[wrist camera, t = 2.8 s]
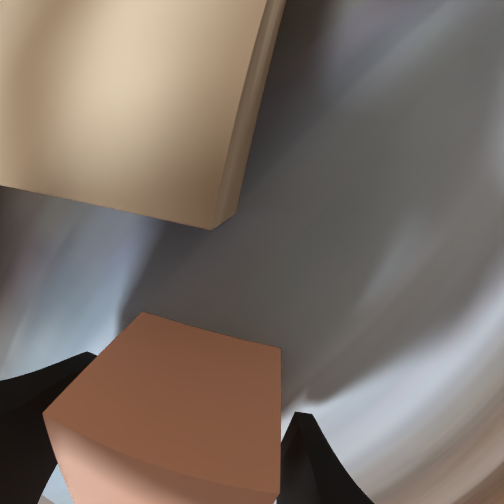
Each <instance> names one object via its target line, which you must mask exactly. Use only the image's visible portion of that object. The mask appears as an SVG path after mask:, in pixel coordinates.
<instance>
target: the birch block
mask: <svg viewBox="0 0 504 504" xmlns="http://www.w3.org/2000/svg"><path fill="white" fill-rule="evenodd" d="M285 3H286V0H0V185H2V186H7V187H12V188H17V189H22V190H27V191H32V192H36V193H41V194H46V195H51V196H56V197H61V198H65V199H70V200H75V201H80V202H84V203H89V204H94V205H98V206H103V207H108V208H112V209H117V210H121V211H126V212H131V213H135V214H140V215H144V216H149V217H154V218H158V219H163V220H167V221H172V222H176V223H181V224H185V225H190V226H194V227H198V228H203V229H207V230H212V229H214V228H215V227H217V226H218V225H220V224H221V223H223V222H224V221H226V220H227V219H229V218H230V217H232V216H233V215H235V214H236V210H237V206H238V201H239V197H240V192H241V187H242V183H243V178H244V174H245V169H246V165H247V160H248V156H249V151H250V147H251V143H252V138H253V134H254V130H255V125H256V121H257V117H258V112H259V108H260V104H261V100H262V95H263V91H264V87H265V83H266V79H267V75H268V71H269V66H270V62H271V58H272V54H273V50H274V46H275V42H276V38H277V34H278V31H279V27H280V23H281V19H282V15H283V11H284V7H285Z"/></svg>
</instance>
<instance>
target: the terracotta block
mask: <svg viewBox="0 0 504 504" xmlns="http://www.w3.org/2000/svg"><path fill="white" fill-rule="evenodd" d="M42 414H43V418H44V422H45V425H46V429H47V432H48V435H49V439H50V442H51V445H52V448H53V451H54V454H55V457H56V459H57V462H58V465H59V468H60V470H61V473H62V475H63V478H64V480H65V483H66V485H67V488H68V490H69V492H70V495H71V497H72V499H73V501H74V503H75V504H273V503H274V501H275V500H276V498H277V497H278V495H279V494H280V457H281V348H278V347H273V346H269V345H264V344H260V343H256V342H251V341H247V340H243V339H239V338H235V337H231V336H227V335H223V334H219V333H215V332H211V331H208V330H204V329H200V328H197V327H193V326H189V325H186V324H182V323H179V322H176V321H172V320H169V319H165V318H162V317H159V316H156V315H152V314H149V313H146V312H143V311H142V312H141V313H140V314H139V315H138V316H137V317H136V318H135V319H134V320H133V321H132V322H131V323H130V324H129V325H128V326H127V327H126V328H125V329H124V330H123V331H122V332H121V333H120V334H119V335H118V336H117V337H116V338H115V339H114V340H113V341H112V342H111V343H110V344H109V345H108V346H107V347H106V348H105V349H104V350H103V351H102V352H101V353H100V354H99V355H98V356H97V357H96V358H95V359H94V360H93V361H92V362H91V363H90V364H89V365H88V366H87V367H86V368H85V369H84V370H83V371H82V372H81V373H80V374H79V375H78V377H77V378H76V379H75V380H74V381H73V382H72V383H71V384H70V385H69V386H68V387H67V388H66V389H65V390H64V391H63V392H62V393H61V394H60V395H59V396H58V397H57V398H56V399H55V400H54V402H53V403H52V404H51V405H50V406H49V407H48V408H47V409H46V410H45V411H44V412H43V413H42Z"/></svg>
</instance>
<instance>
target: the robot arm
mask: <svg viewBox="0 0 504 504" xmlns="http://www.w3.org/2000/svg"><path fill="white" fill-rule="evenodd" d="M96 357H97V355H94V354H92V353H90V352H84V353H81V354H79V355H76V356H73V357H71V358H69V359H66V360H64V361H61V362H59V363H56V364H53V365H51V366H48V367H46V368H43V369H40V370H37V371H34V372H31V373H28V374H25V375H22V376H18V377H15V378H11V379H7V380H2V381H0V504H37V503H38V501H39V499H40V496H41V494H42V492H43V490H44V488H45V486H46V484H47V482H48V480H49V478H50V476H51V474H52V473H53V471H54V469H55V467H56V465H57V464H58V462H57V459H56V457H55V454H54V451H53V448H52V445H51V442H50V439H49V435H48V432H47V429H46V425H45V422H44V418H43V414H42V413H43V412H44V411H45V410H46V409H47V408H48V407H49V406H50V405H51V404H52V403H53V402H54V400H55V399H56V398H57V397H58V396H59V395H60V394H61V393H62V392H63V391H64V390H65V389H66V388H67V387H68V386H69V385H70V384H71V383H72V382H73V381H74V380H75V379H76V378H77V377H78V375H79V374H80V373H81V372H82V371H83V370H84V369H85V368H86V367H87V366H88V365H89V364H90V363H91V362H92V361H93V360H94V359H95V358H96ZM277 504H374V503H373V502H372V501H371V500H370V499H369V498H368V497H367V496H366V495H365V493H364V492H363V491H362V490H361V489H360V488H359V487H358V486H357V484H356V483H355V482H354V481H353V479H352V478H351V477H350V475H349V474H348V473H347V471H346V470H345V469H344V467H343V466H342V464H341V463H340V461H339V460H338V458H337V456H336V455H335V453H334V452H333V450H332V448H331V447H330V445H329V443H328V442H327V440H326V438H325V436H324V435H323V433H322V431H321V429H320V427H319V425H318V424H317V422H316V420H315V418H314V416H313V415H312V414H308V413H302V412H295V413H294V415H293V417H292V420H291V422H290V424H289V426H288V429H287V431H286V433H285V435H284V437H283V440H282V442H281V457H280V494H279V495H278V497H277Z"/></svg>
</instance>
